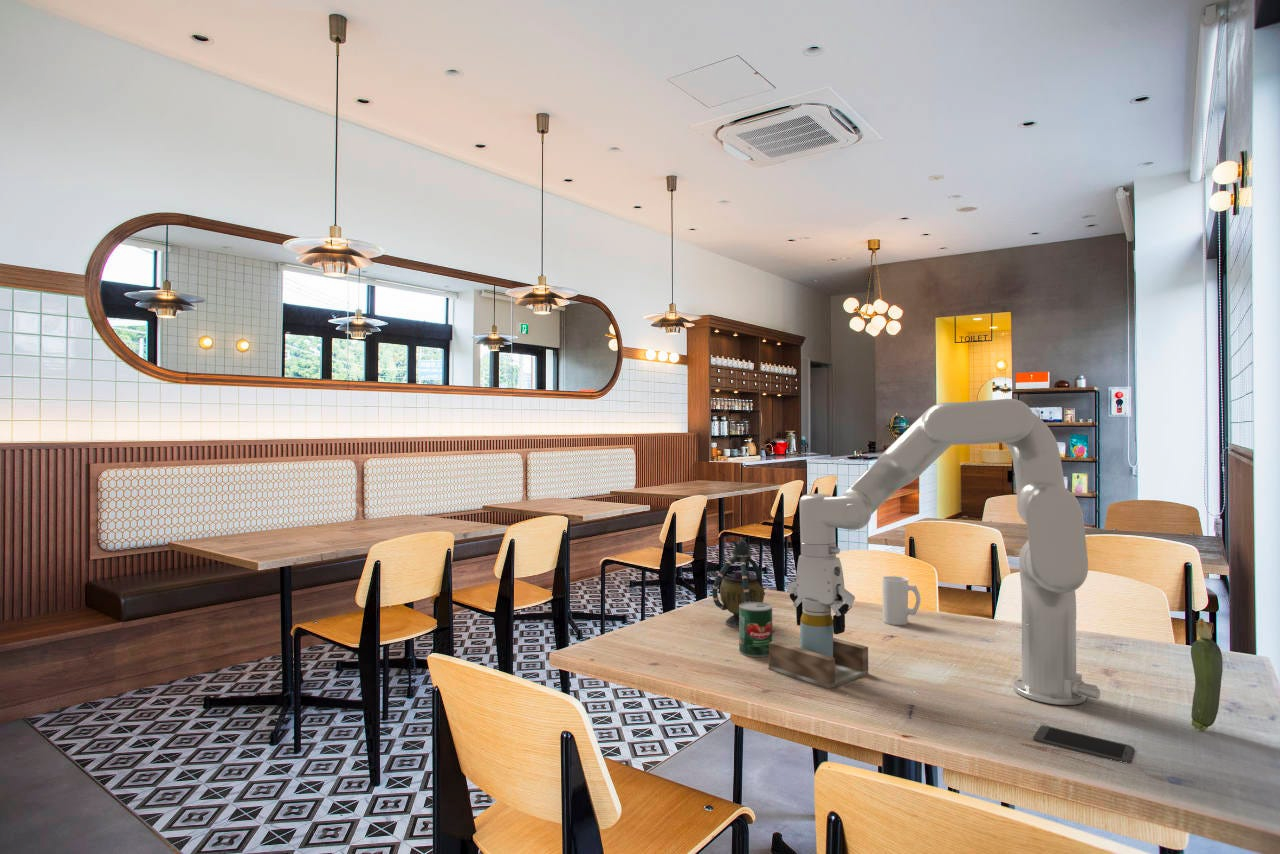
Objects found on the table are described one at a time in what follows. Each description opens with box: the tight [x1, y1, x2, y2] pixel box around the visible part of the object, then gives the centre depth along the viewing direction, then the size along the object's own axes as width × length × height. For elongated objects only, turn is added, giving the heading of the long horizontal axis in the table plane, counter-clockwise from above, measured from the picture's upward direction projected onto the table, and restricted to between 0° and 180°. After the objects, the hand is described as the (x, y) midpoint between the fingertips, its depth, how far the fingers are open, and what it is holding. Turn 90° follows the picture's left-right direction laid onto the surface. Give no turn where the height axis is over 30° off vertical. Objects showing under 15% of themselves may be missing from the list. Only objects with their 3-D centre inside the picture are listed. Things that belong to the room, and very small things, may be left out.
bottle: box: [799, 598, 834, 658], centre depth 159 cm, size 7×7×15 cm
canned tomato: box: [738, 602, 773, 658], centre depth 172 cm, size 8×8×11 cm
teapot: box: [711, 538, 766, 629], centre depth 200 cm, size 12×25×23 cm, turn 151°
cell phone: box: [1032, 725, 1135, 764], centre depth 121 cm, size 7×14×1 cm, turn 50°
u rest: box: [768, 637, 869, 689], centre depth 158 cm, size 16×14×6 cm
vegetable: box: [1190, 617, 1224, 732], centre depth 126 cm, size 4×4×20 cm
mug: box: [881, 575, 921, 626], centre depth 196 cm, size 10×7×12 cm, turn 52°
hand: (820, 628), depth 158 cm, fingers open, 9 cm apart
